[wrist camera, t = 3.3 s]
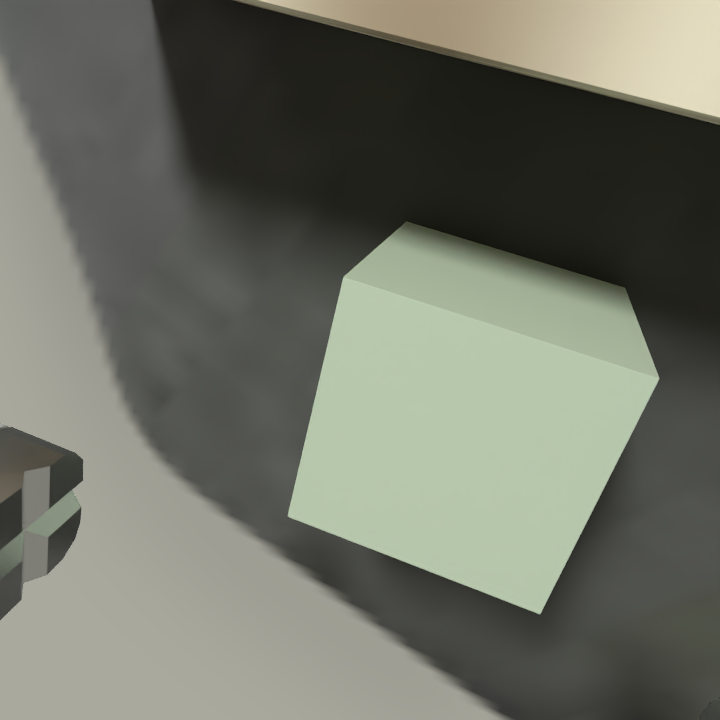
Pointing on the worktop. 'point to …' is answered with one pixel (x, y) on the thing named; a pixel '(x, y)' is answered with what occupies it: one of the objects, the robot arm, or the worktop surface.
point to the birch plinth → (556, 41)
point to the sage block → (471, 411)
